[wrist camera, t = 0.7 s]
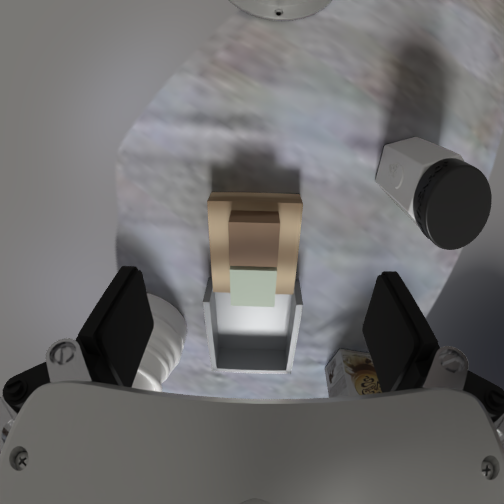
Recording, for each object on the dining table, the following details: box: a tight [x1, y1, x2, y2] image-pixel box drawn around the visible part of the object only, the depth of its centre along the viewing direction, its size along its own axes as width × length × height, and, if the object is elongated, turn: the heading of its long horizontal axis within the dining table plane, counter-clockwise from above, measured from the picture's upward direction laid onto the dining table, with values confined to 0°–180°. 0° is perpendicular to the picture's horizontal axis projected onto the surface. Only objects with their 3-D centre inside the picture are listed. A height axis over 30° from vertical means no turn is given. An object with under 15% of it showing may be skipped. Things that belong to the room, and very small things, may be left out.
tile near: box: [228, 210, 280, 267], centre depth 31 cm, size 5×5×3 cm
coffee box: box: [325, 349, 382, 398], centre depth 41 cm, size 9×6×16 cm
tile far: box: [230, 266, 277, 307], centre depth 34 cm, size 5×5×3 cm
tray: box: [203, 278, 303, 374], centre depth 41 cm, size 14×12×5 cm
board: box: [207, 192, 303, 295], centre depth 35 cm, size 12×10×3 cm
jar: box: [375, 137, 491, 250], centre depth 26 cm, size 9×8×12 cm
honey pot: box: [131, 293, 187, 392], centre depth 37 cm, size 13×13×18 cm
